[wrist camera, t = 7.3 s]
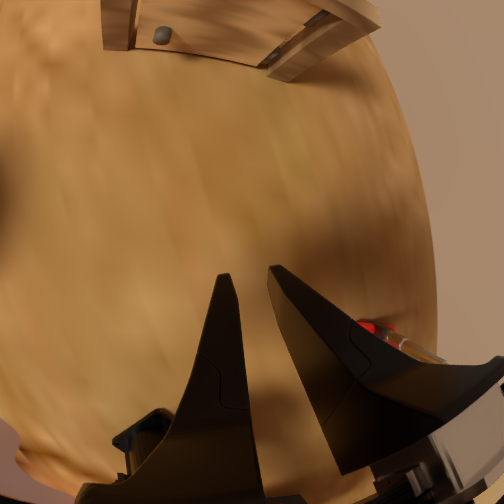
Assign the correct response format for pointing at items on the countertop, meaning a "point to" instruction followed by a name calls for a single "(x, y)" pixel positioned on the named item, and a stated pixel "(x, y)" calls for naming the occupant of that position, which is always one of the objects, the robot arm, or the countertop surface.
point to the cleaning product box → (286, 500)
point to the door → (224, 26)
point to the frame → (291, 54)
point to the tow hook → (401, 342)
